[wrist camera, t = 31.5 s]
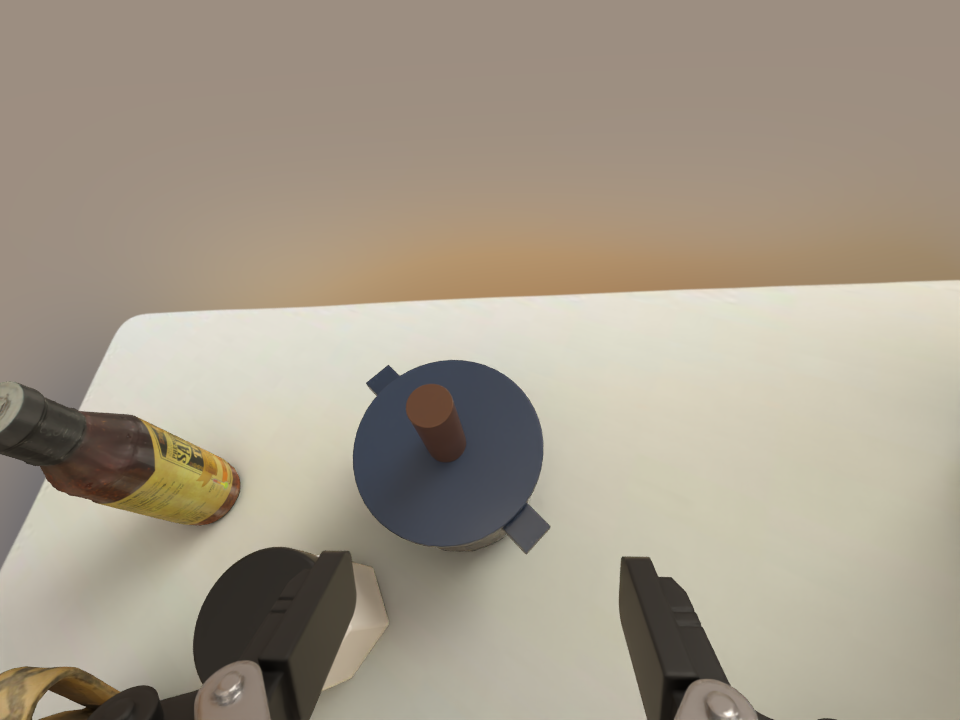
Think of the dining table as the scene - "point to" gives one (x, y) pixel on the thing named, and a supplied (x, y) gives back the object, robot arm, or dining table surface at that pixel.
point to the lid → (448, 453)
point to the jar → (254, 592)
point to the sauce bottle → (116, 459)
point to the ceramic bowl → (15, 693)
